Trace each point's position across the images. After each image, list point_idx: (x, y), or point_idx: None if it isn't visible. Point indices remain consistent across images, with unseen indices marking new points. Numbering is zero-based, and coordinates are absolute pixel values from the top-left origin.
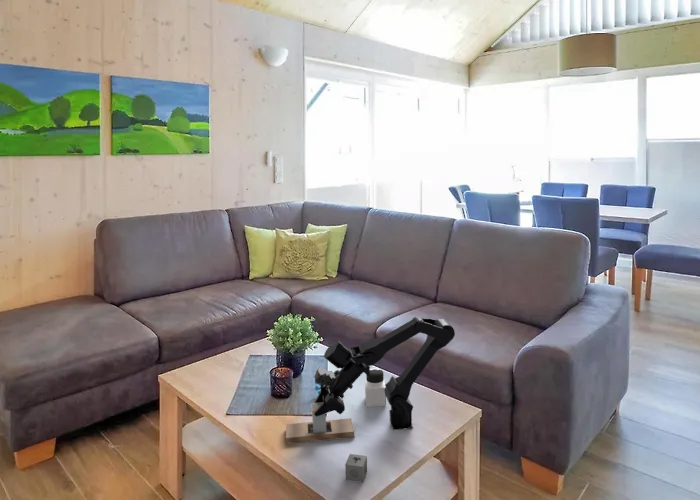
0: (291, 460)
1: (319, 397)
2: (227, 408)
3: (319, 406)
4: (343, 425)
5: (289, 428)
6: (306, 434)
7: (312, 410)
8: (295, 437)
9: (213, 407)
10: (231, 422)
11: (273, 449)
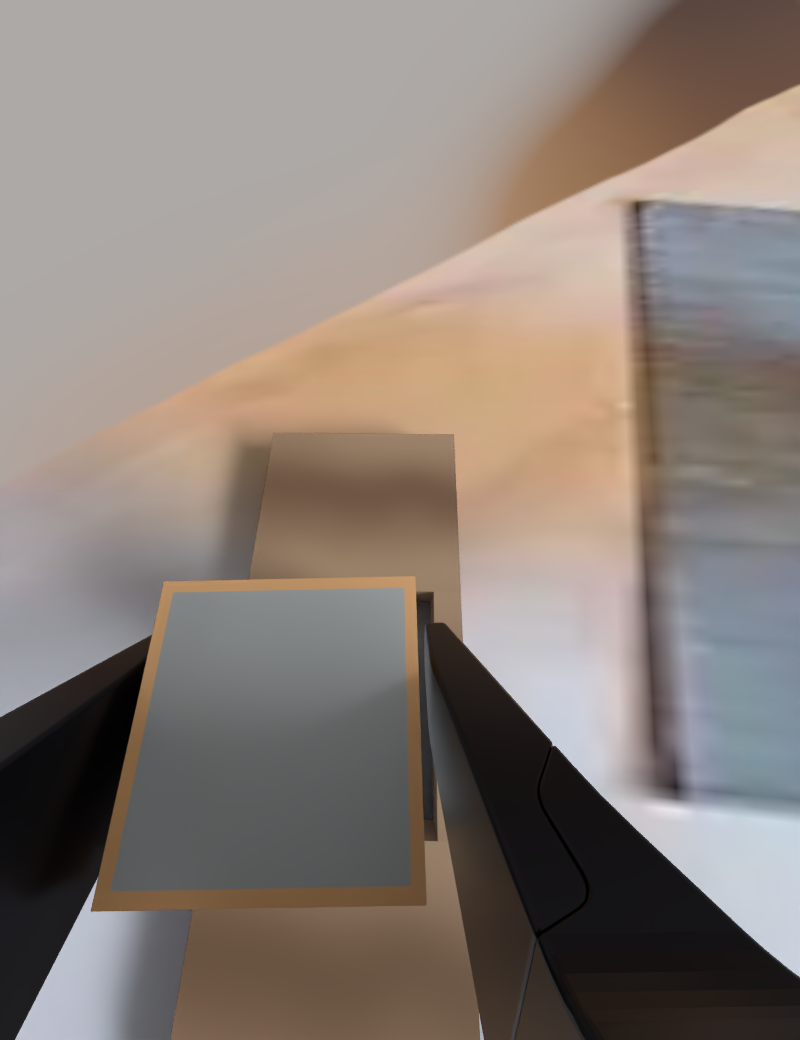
0: (99, 482)
1: (471, 797)
2: (693, 201)
3: (12, 750)
4: (329, 1028)
5: (392, 455)
6: (273, 574)
7: (162, 591)
8: (265, 493)
9: (697, 159)
10: (556, 222)
11: (252, 393)
